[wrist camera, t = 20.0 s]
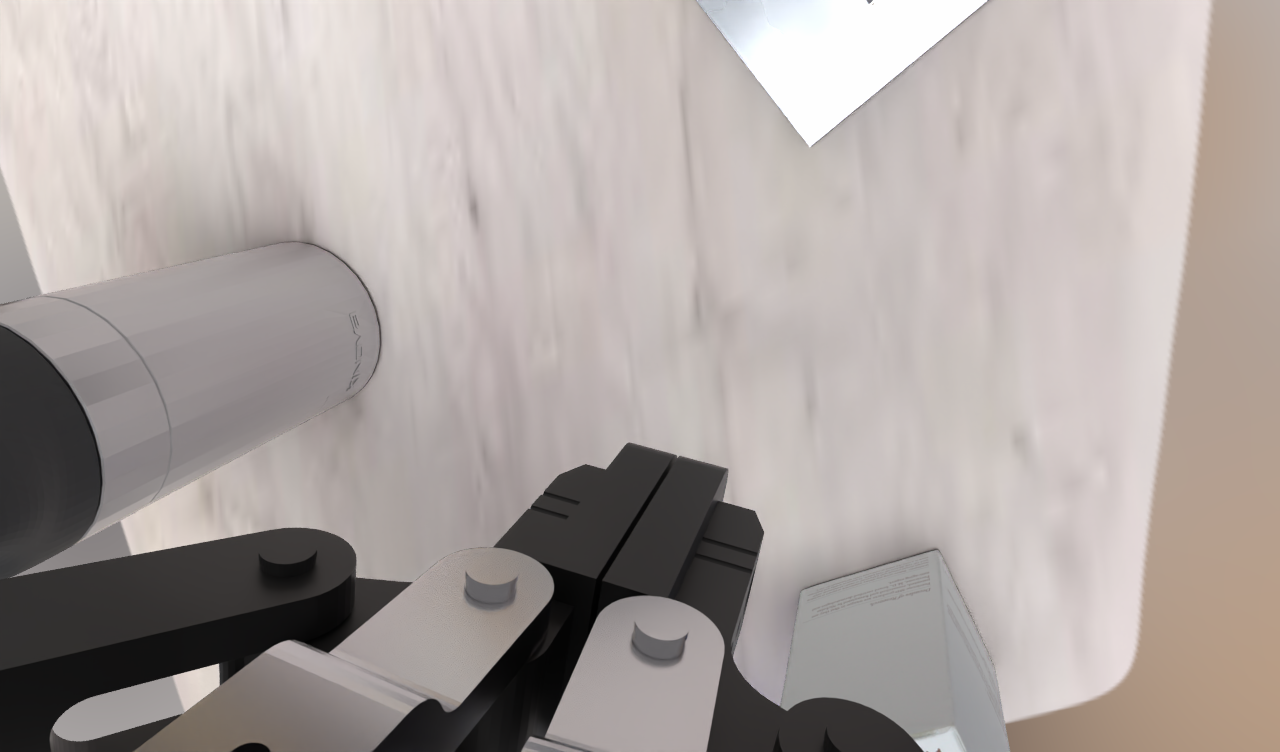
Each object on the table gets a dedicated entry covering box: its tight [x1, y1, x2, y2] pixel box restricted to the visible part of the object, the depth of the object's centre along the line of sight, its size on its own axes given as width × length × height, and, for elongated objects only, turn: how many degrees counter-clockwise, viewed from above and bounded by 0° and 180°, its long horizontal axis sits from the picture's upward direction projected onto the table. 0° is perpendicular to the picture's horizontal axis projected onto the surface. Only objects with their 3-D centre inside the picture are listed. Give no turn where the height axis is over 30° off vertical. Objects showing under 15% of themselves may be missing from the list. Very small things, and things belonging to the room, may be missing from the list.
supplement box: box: [780, 550, 1010, 752], centre depth 36 cm, size 7×7×13 cm
